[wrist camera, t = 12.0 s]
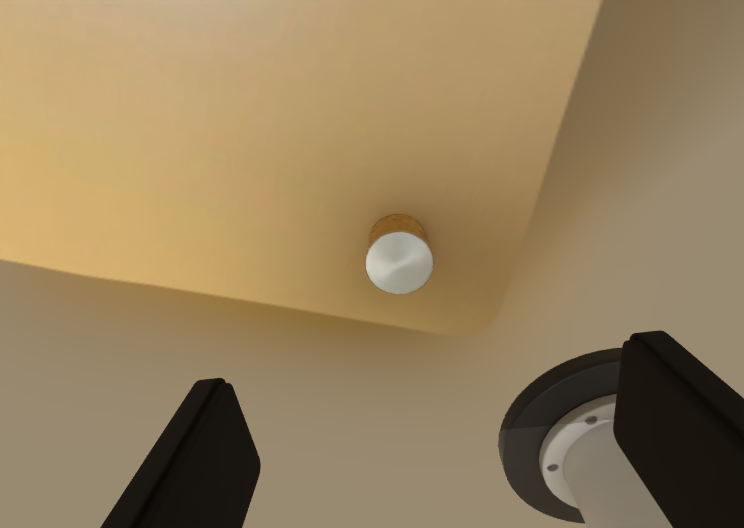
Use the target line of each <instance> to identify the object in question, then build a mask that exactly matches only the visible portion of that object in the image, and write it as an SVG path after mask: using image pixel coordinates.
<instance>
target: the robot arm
mask: <svg viewBox="0 0 744 528" xmlns="http://www.w3.org/2000/svg"><path fill="white" fill-rule="evenodd" d="M539 465H540V470H541V473H542V475H543V477H544V480H545V482H546V485H547V486H548V488H549V489H550V490H551V492H552V493H553V494H554V495H555V496H556V497H558V498H559V499H560V500H561V501H563V502H565V503H567V504H568V505H570V506H573V507H575V508H578V509H579V510H580V512H581V515H582V517H583V519H584V521H585V523H586V525H587V527H588V528H744V399H743V398H742V397H741V396H740V395H739V394H738V393H737V392H735V391H734V390H733V389H732V388H731V387H730V386H728V385H727V384H726V383H725V382H724V381H722V380H721V379H720V378H719V377H718V376H717V375H715V374H714V373H713V372H712V371H711V370H709V369H708V368H707V367H706V366H705V365H704V364H702V363H701V362H700V361H699V360H698V359H697V358H696V357H694V356H693V355H692V354H691V353H690V352H688V351H687V350H686V349H685V348H684V347H683V346H681V345H680V344H679V343H678V342H677V341H675V340H674V339H673V338H672V337H671V336H669V335H668V334H667V333H666V332H664V331H651V332H643V333H634V334H632V335H631V337H630V340H628V341H625V342H624V344H623V348H622V356H621V365H620V373H619V381H618V390H617V394H612V395H608V396H604V397H600V398H597V399H594V400H592V401H589V402H587V403H584V404H582V405H581V406H579V407H577V408H575V409H573V410H572V411H570V412H569V413H568V414H566V415H565V416H564V417H562V418H561V419H560V420H559V421H558V422H557V423H556V424H555V425H554V426H553V427H552V428H551V429H550V431H549V432H548V434H547V435H546V437H545V439H544V440H543V443H542V446H541V449H540V453H539ZM259 474H260V459H259V456H258V453H257V450H256V448H255V445H254V442H253V440H252V437H251V434H250V432H249V429H248V426H247V424H246V421H245V418H244V415H243V413H242V410H241V407H240V405H239V402H238V400H237V397H236V394H235V391H234V389H233V386H232V385H231V384H230V383H226V382H225V380H224V379H222V378H215V379H205V380H199V381H197V382H196V383H195V384H194V386H193V387H192V389H191V390H190V392H189V393H188V395H187V396H186V398H185V399H184V401H183V402H182V404H181V405H180V407H179V408H178V410H177V411H176V413H175V414H174V416H173V418H172V419H171V421H170V422H169V424H168V425H167V427H166V428H165V430H164V431H163V433H162V434H161V436H160V438H159V439H158V440H157V442H156V443H155V445H154V447H153V448H152V450H151V451H150V453H149V454H148V456H147V457H146V459H145V460H144V462H143V464H142V465H141V466H140V468H139V470H138V471H137V473H136V474H135V476H134V477H133V479H132V481H131V482H130V483H129V485H128V486H127V488H126V489H125V491H124V492H123V494H122V495H121V497H120V499H119V500H118V502H117V503H116V505H115V506H114V508H113V509H112V511H111V512H110V514H109V515H108V517H107V518H106V520H105V521H104V523H103V525H102V526H101V528H242V526H243V523H244V520H245V517H246V514H247V511H248V508H249V505H250V502H251V498H252V496H253V493H254V490H255V487H256V483H257V480H258V477H259Z"/></svg>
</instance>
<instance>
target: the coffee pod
mask: <svg viewBox="0 0 744 528" xmlns="http://www.w3.org/2000/svg"><path fill="white" fill-rule="evenodd" d="M433 264H434V262H433V255H432V252H431V249H430V247H429V245H428V244H427V240H426V237H425V233H424V231H423V229H422V227H421V225H420V224H419V223H418V222H417V221H416V220H414V219H413V218H411V217H409V216H406V215H398V214H397V215H390V216H387V217H385V218H383V219H382V220H380V221H379V222H378V223H377V224H376V225H375V226H374V228H373V230H372V232H371V235H370V241H369V249H368V251H367V254H366V259H365V267H366V272H367V275H368V277H369V279H370V280H371V281H372V283H373V284H374V285H375V286H376V287H378V288H379V289H381V290H383V291H385V292H387V293H391V294H407V293H411V292H413V291H416V290H417V289H419V288H420V287H422V286H423V285H424V284H425V283H426V282H427V280H428V279H429V277H430V276H431V273H432V270H433Z"/></svg>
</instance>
